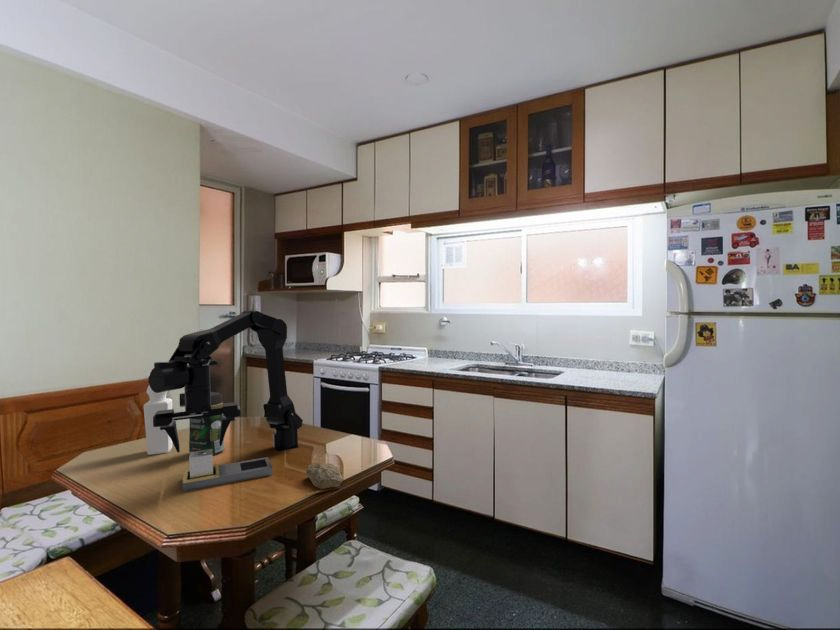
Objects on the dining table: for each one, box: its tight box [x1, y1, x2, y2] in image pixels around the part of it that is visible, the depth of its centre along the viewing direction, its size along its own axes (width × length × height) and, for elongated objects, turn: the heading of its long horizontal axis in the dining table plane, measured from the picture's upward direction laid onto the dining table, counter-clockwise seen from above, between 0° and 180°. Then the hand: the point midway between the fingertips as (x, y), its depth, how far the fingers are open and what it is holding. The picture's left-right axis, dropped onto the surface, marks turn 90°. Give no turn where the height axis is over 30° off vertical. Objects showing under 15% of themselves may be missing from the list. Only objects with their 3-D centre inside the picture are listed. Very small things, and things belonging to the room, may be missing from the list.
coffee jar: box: [188, 391, 225, 456], centre depth 131 cm, size 10×8×19 cm
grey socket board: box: [181, 456, 273, 492], centre depth 110 cm, size 20×9×3 cm, turn 116°
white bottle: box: [143, 384, 173, 456], centre depth 134 cm, size 6×6×22 cm
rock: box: [305, 461, 344, 490], centre depth 106 cm, size 8×11×4 cm
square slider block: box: [188, 449, 214, 479], centre depth 107 cm, size 5×5×7 cm
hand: (199, 448), depth 107 cm, fingers open, 9 cm apart
